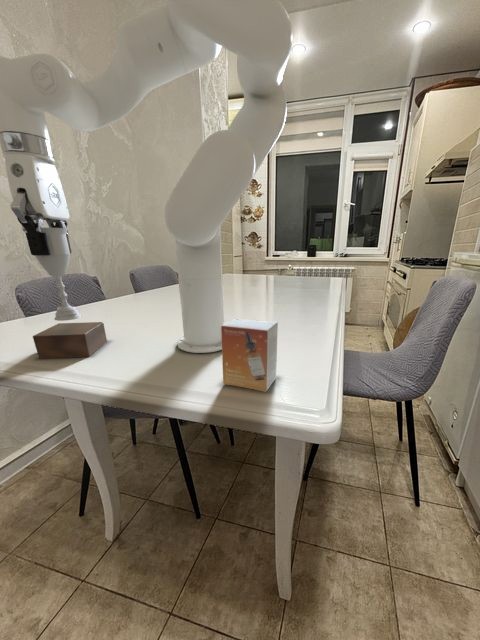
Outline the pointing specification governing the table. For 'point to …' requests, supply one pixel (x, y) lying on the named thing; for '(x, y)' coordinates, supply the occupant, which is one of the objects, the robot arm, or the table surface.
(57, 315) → the chalice
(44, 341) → the walnut block
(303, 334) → the table surface
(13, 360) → the table surface
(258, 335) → the small box
